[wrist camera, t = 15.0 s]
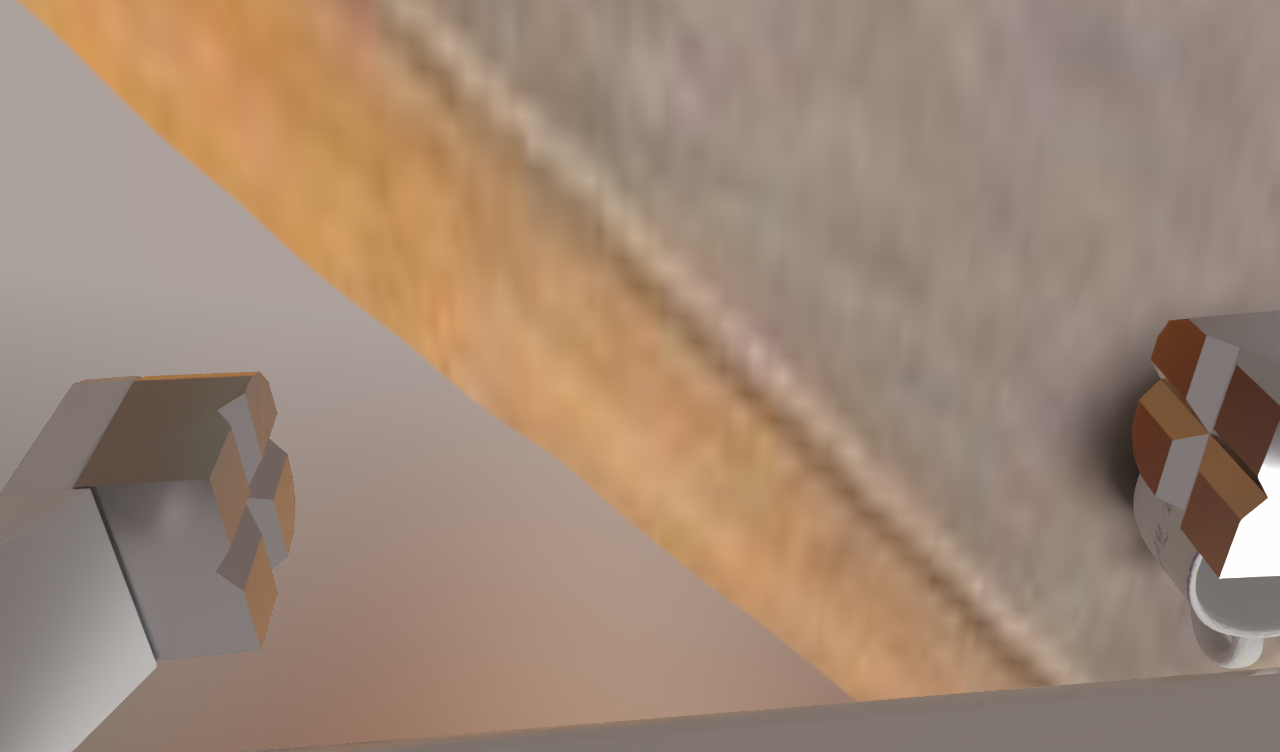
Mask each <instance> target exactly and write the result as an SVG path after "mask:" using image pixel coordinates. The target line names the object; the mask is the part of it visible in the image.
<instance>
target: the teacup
mask: <svg viewBox="0 0 1280 752" xmlns="http://www.w3.org/2000/svg"><path fill="white" fill-rule="evenodd" d="M1133 507H1134V516H1135V521H1136V524H1137V526H1138V529H1139V532H1140V534H1141V536H1142V538H1143V540H1144V542H1145V544H1146V545H1147V547H1148V548H1149V550H1150V551H1151V553H1152V554H1153V556H1154V557H1155V559H1156V560H1157V561H1158V563H1159V564H1160V566H1161V567H1162V568H1163V570H1164V571H1165V572H1166V573H1167V575H1168V576H1169V577H1170V579H1171V580H1172V581H1173V582H1174V584H1175V585H1176V586H1177V587H1178V589H1179V590H1180V591H1181V592H1182V593H1183V595H1184V596H1185V597H1186V598H1187V600H1188V601H1189V604H1190V606H1191V617H1192V624H1193V629H1194V632H1195V636H1196V638H1197V641H1198V644H1199V645H1200V647H1201V649H1202V651H1203V652H1204V654H1205V655H1206V656H1208V657H1209V658H1210V659H1211V660H1212V661H1213V662H1214V663H1215V664H1217V665H1219V666H1222V667H1226V668H1243V667H1247V666H1249V665H1251V664H1253V663H1254V662H1256V660H1257V659H1258V658H1259V656H1260V655H1261V652H1262V648H1263V638H1265V637H1274V636H1280V576H1261V577H1240V578H1218V576H1217V575H1216V574H1215V572H1214V571H1213V570H1212V569H1211V567H1210V566H1209V565H1208V563H1207V562H1206V561H1205V560H1204V558H1203V557H1202V556H1201V554H1200V553H1199V552H1198V551H1197V549H1196V548H1195V547H1194V545H1193V544H1192V543H1191V542H1190V540H1189V539H1188V538H1187V537H1186V535H1185V534H1184V533H1183V531H1182V530H1181V529H1180V526H1181V521H1182V517H1183V513H1184V511H1183V510H1181V509H1179V508H1177V507H1175V506H1173V505H1172V504H1170V503H1168V502H1166V501H1164V500H1162V499H1160V498H1158V497H1156V496H1155V495H1154V494H1153V492H1152V491H1151V490H1150V488H1149V487H1148V485H1147V484H1146V483H1145V481H1144V480H1143V479H1142V477H1141V474H1139V477H1138V480H1137V484H1136V487H1135V492H1134V499H1133ZM1226 634H1227V635H1232V643H1230V642H1229V640H1228V638H1227V636H1226Z"/></svg>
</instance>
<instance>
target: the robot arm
mask: <svg viewBox="0 0 1280 752" xmlns="http://www.w3.org/2000/svg"><path fill="white" fill-rule="evenodd" d="M1151 362H1152V364H1153V365H1154V367H1155V369H1156V371H1157V373H1158V375H1159V377H1160V380H1159V381H1158V382H1157V383H1156V384H1155V385H1154V386H1153V387H1152V388H1151V389H1150V390H1149V391H1148V392H1147V393H1146V394H1145V395H1144V396H1142V397H1141V398H1140V399H1139V401H1138V405H1137V410H1136V414H1135V418H1134V422H1133V426H1132V441H1133V452H1134V459H1135V462H1136V464H1137V467H1138V469H1139V472H1140V474H1141V477H1142V479H1143V480H1144V481H1145V483H1146V484H1147V485H1148V487H1149V488H1150V490H1151V491H1152V492H1153V494H1154V495H1155V496H1156V497H1158V498H1160V499H1162V500H1164V501H1166V502H1168V503H1170V504H1172V505H1173V506H1175V507H1177V508H1179V509H1181V510H1183V511H1184V513H1183V517H1182V521H1181V526H1180V529H1181V530H1182V531H1183V533H1184V534H1185V535H1186V537H1187V538H1188V539H1189V540H1190V542H1191V543H1192V544H1193V545H1194V547H1195V548H1196V549H1197V551H1198V552H1199V553H1200V554H1201V556H1202V557H1203V558H1204V560H1205V561H1206V562H1207V563H1208V565H1209V566H1210V567H1211V569H1212V570H1213V571H1214V572H1215V574H1216V575H1217V576H1218V578H1240V577H1261V576H1280V311H1272V312H1260V313H1248V314H1236V315H1224V316H1212V317H1200V318H1189V319H1178V320H1169V321H1168V323H1167V324H1166V326H1165V327H1164V328H1163V330H1162V331H1161V333H1160V334H1159V335H1158V337H1157V340H1156V344H1155V347H1154V350H1153V353H1152V357H1151ZM276 415H277V411H276V407H275V403H274V400H273V396H272V393H271V390H270V386H269V382H268V381H267V380H266V378H265V377H264V376H263V375H262V374H261V373H260V372H240V373H215V374H190V375H164V376H145V377H143V378H142V377H139V376H129V377H115V378H102V379H89V380H84V381H80V382H77V383H74V384H73V385H72V386H71V388H70V389H69V391H68V392H67V394H66V396H65V397H64V398H63V400H62V401H61V403H60V404H59V406H58V407H57V409H56V411H55V412H54V413H53V415H52V416H51V418H50V419H49V421H48V422H47V424H46V425H45V427H44V428H43V430H42V431H41V433H40V434H39V436H38V437H37V439H36V440H35V442H34V443H33V445H32V447H31V448H30V449H29V451H28V453H27V454H26V455H25V457H24V459H23V460H22V462H21V463H20V465H19V466H18V468H17V469H16V471H15V472H14V474H13V475H12V477H11V478H10V480H9V481H8V483H7V484H6V486H5V487H4V489H3V490H2V492H1V493H0V752H72V751H73V750H74V749H75V748H76V747H77V746H78V745H79V744H80V743H81V742H82V741H83V740H84V739H85V738H86V737H87V736H88V735H89V734H90V733H91V732H92V731H93V730H94V729H95V728H96V727H97V726H98V725H99V724H100V723H101V722H102V721H103V720H104V719H105V718H106V717H107V716H108V715H109V714H110V713H111V712H112V711H113V710H114V709H115V708H116V707H117V706H118V705H119V704H120V703H121V702H122V701H123V700H124V699H125V698H126V697H127V696H128V695H129V694H130V693H131V692H132V691H133V690H134V689H135V688H136V687H137V686H138V685H139V684H140V683H141V682H142V681H143V680H144V679H145V678H146V677H147V676H148V675H149V674H150V673H151V672H152V671H153V670H154V669H155V668H156V667H157V663H156V661H159V660H170V659H180V658H189V657H198V656H209V655H219V654H229V653H239V652H248V651H258V650H261V649H262V645H263V642H264V638H265V635H266V631H267V628H268V624H269V621H270V617H271V614H272V610H273V607H274V604H275V600H276V597H277V589H276V586H275V581H274V577H273V574H272V569H273V568H274V567H276V566H277V565H278V564H279V563H280V562H282V561H283V560H284V559H285V558H286V557H287V556H288V553H289V549H290V545H291V541H292V537H293V533H294V518H295V494H294V485H293V476H292V472H291V468H290V464H289V459H288V455H287V453H285V452H284V451H283V450H282V449H281V448H279V447H278V446H277V445H276V444H275V443H274V442H272V441H271V440H270V439H269V436H270V433H271V431H272V428H273V425H274V422H275V419H276ZM244 752H1280V668H1270V669H1257V670H1245V671H1232V672H1220V673H1207V674H1195V675H1182V676H1170V677H1157V678H1145V679H1132V680H1120V681H1108V682H1095V683H1083V684H1070V685H1058V686H1045V687H1033V688H1021V689H1009V690H997V691H985V692H973V693H960V694H948V695H936V696H924V697H912V698H900V699H888V700H876V701H864V702H852V703H839V704H827V705H815V706H802V707H791V708H778V709H765V710H753V711H740V712H728V713H715V714H703V715H691V716H678V717H666V718H653V719H642V720H629V721H617V722H604V723H591V724H579V725H567V726H554V727H542V728H530V729H517V730H504V731H492V732H480V733H468V734H455V735H442V736H430V737H418V738H405V739H392V740H380V741H368V742H355V743H343V744H330V745H319V746H306V747H293V748H281V749H269V750H256V751H244Z"/></svg>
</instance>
